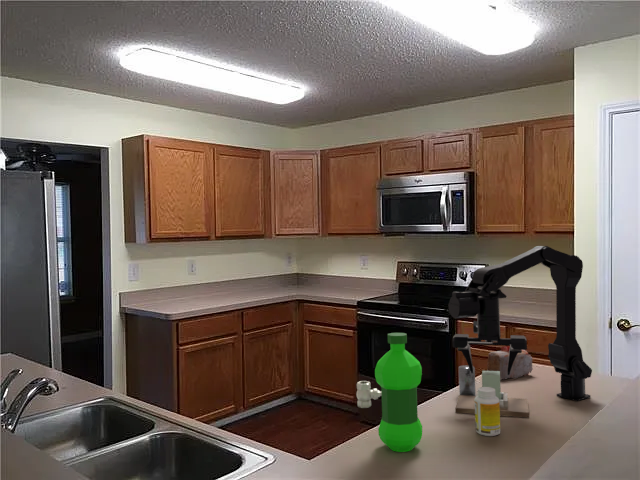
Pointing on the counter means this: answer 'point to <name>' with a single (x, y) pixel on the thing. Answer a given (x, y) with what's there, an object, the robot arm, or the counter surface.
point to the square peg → (492, 381)
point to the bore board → (507, 405)
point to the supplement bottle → (487, 412)
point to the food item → (500, 363)
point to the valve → (366, 394)
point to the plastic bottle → (399, 395)
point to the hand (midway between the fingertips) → (490, 373)
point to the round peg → (466, 381)
